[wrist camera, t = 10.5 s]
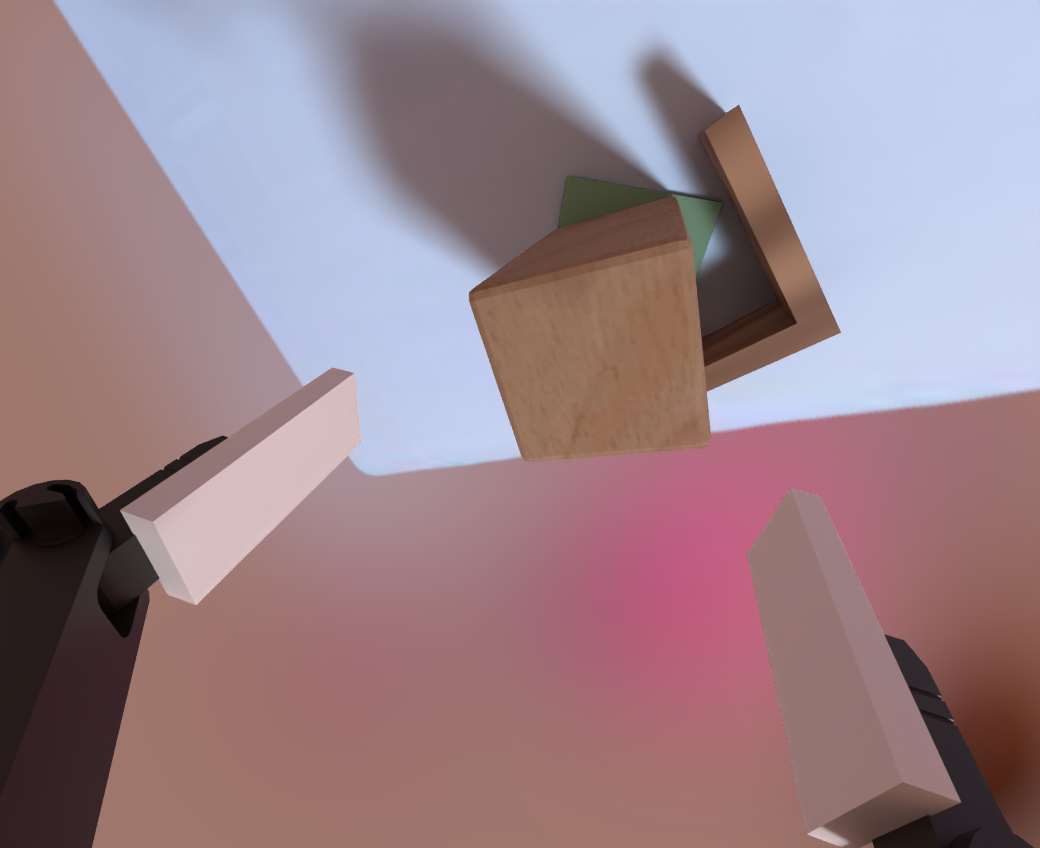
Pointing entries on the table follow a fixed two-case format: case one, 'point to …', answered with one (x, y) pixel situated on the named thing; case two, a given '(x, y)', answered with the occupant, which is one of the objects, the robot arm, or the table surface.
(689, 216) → the pad
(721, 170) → the wooden corner bracket
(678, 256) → the wooden block
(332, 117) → the table surface
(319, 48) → the table surface
